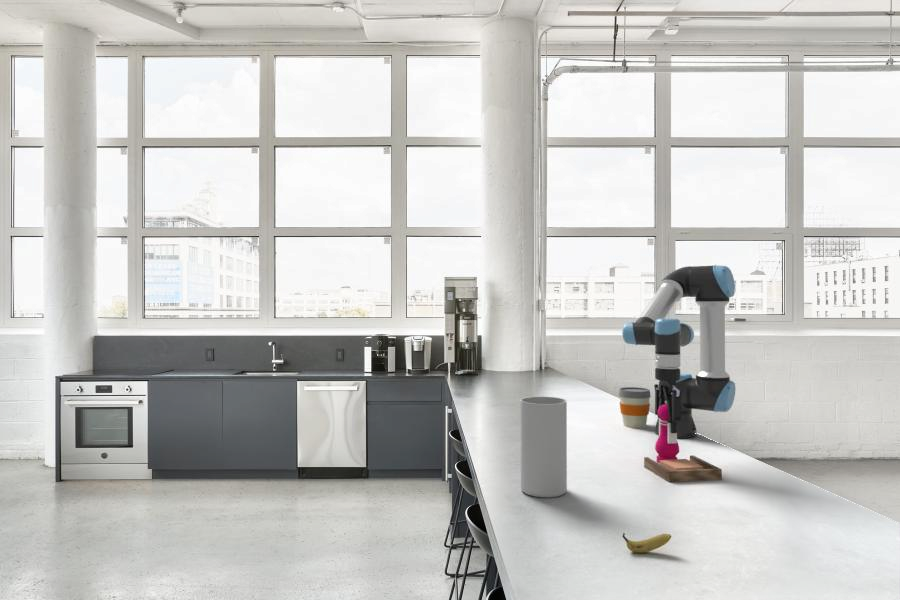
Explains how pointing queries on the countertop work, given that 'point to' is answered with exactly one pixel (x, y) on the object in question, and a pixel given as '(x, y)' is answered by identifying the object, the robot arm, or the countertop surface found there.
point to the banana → (647, 543)
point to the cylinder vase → (544, 446)
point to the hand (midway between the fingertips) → (667, 440)
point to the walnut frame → (685, 471)
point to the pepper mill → (665, 437)
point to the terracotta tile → (679, 464)
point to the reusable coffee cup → (634, 406)
